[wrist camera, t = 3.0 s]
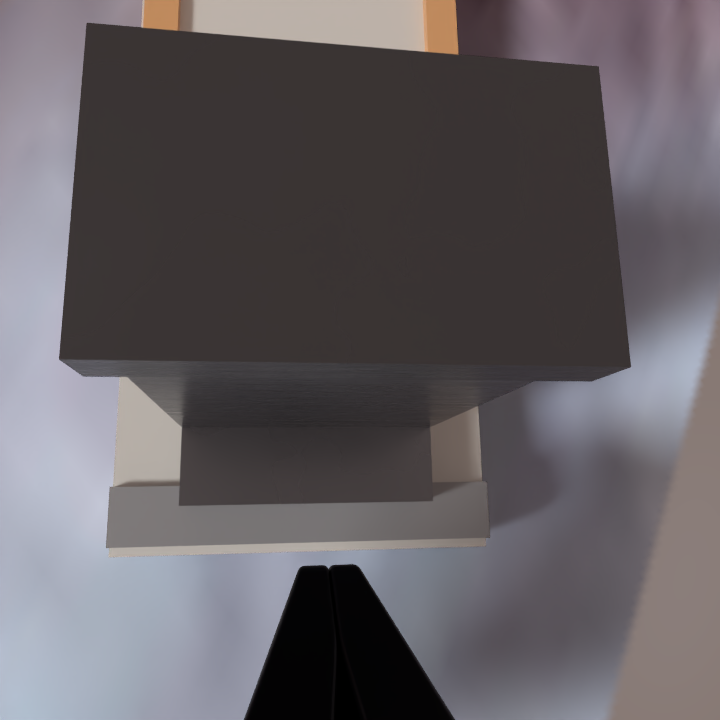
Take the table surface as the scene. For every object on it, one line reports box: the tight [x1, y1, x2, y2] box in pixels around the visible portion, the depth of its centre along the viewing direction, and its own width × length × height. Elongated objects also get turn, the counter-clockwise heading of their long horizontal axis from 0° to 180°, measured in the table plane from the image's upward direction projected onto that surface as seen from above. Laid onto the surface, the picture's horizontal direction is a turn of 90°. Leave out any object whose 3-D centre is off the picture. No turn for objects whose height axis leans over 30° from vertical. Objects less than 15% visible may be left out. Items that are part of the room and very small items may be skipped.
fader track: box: [106, 0, 490, 557], centre depth 17 cm, size 18×8×2 cm, turn 1°
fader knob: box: [59, 23, 631, 506], centre depth 10 cm, size 6×5×8 cm
